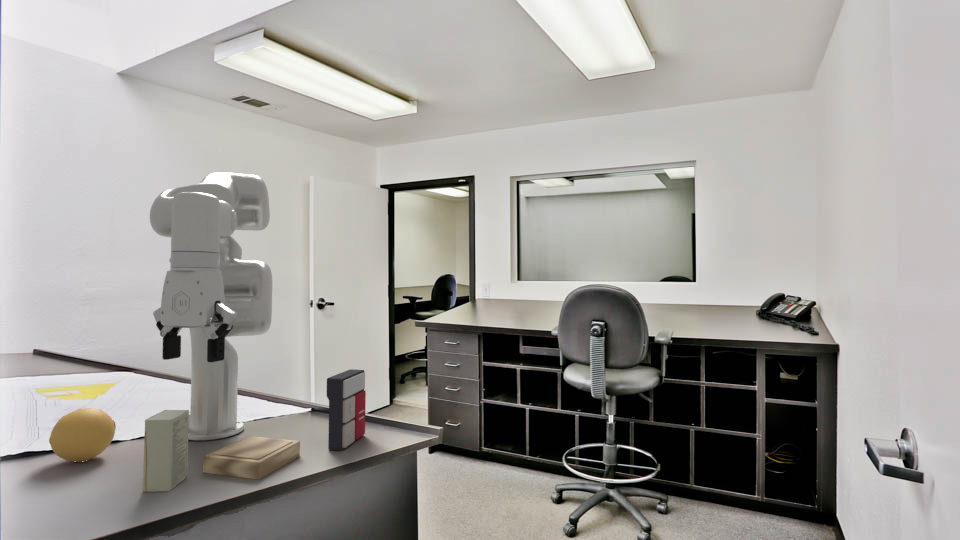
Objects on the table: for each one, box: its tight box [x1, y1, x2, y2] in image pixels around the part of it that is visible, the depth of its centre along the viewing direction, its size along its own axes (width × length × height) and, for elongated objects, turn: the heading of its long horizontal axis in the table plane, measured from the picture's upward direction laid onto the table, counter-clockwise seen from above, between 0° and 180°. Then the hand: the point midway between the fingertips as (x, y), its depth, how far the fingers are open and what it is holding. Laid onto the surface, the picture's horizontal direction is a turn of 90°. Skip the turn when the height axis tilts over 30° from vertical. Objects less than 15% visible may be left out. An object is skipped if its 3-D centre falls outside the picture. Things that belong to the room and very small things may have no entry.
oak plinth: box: [202, 435, 301, 481], centre depth 94 cm, size 12×12×3 cm
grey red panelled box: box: [326, 368, 367, 452], centre depth 107 cm, size 11×4×15 cm, turn 168°
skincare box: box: [142, 409, 190, 493], centre depth 84 cm, size 6×4×12 cm
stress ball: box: [48, 407, 117, 463], centre depth 95 cm, size 10×10×10 cm
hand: (193, 359), depth 86 cm, fingers open, 9 cm apart
